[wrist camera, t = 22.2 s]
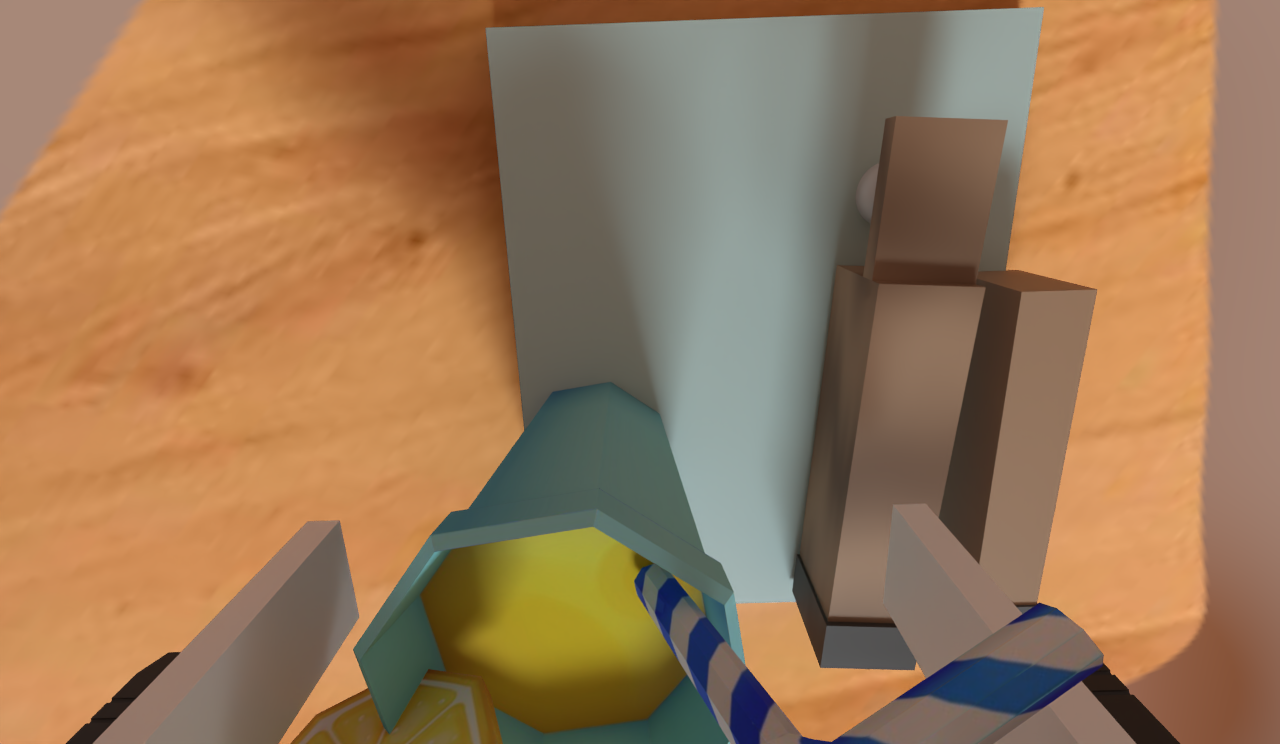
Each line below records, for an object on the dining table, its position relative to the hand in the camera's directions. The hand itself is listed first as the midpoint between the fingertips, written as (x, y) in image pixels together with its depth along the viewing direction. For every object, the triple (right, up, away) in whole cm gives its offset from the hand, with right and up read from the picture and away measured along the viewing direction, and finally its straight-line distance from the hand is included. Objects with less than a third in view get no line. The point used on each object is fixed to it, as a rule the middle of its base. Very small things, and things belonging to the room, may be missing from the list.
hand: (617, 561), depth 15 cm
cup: (0, +2, +7) cm, 7 cm away
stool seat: (+4, +6, +7) cm, 10 cm away
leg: (+8, +4, +6) cm, 11 cm away
